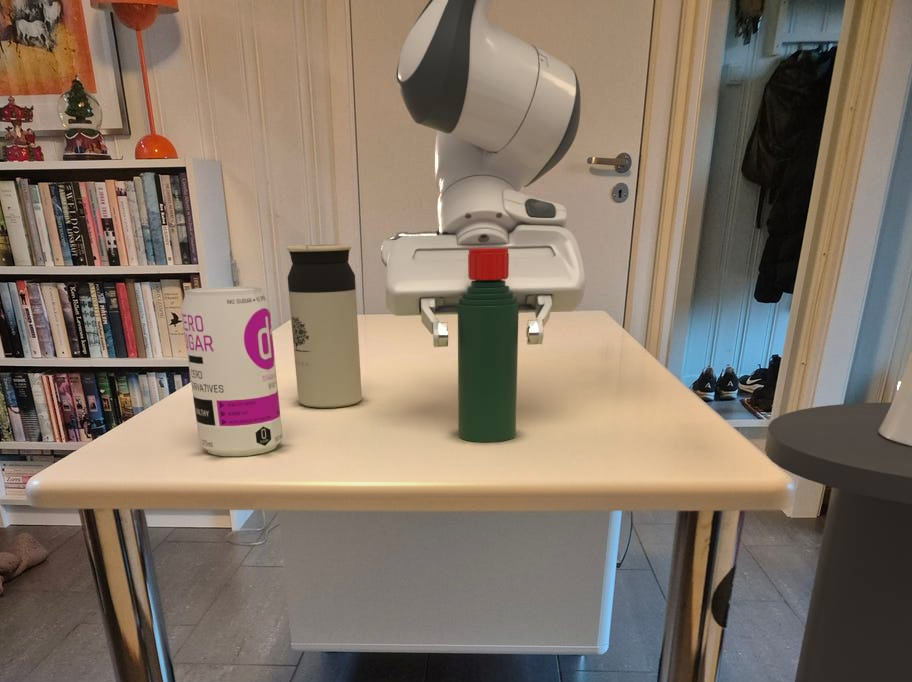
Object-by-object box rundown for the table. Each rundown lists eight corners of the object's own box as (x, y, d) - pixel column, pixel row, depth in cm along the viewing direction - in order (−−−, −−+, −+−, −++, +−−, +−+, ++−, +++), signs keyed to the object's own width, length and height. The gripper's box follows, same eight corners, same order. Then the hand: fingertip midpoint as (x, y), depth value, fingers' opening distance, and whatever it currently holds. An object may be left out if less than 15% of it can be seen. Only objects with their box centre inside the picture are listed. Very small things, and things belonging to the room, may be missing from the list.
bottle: (518, 429, 92) (522, 251, 84) (512, 443, 86) (516, 253, 79) (463, 428, 93) (462, 252, 85) (454, 441, 87) (452, 254, 80)
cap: (510, 277, 84) (510, 247, 83) (505, 279, 81) (506, 248, 80) (471, 277, 85) (471, 247, 84) (465, 280, 81) (465, 249, 80)
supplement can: (296, 440, 89) (282, 285, 82) (258, 460, 82) (239, 292, 75) (227, 436, 91) (208, 286, 85) (185, 455, 84) (160, 292, 78)
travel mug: (353, 394, 112) (344, 243, 104) (369, 405, 105) (360, 245, 97) (293, 399, 110) (279, 245, 102) (305, 411, 103) (291, 247, 95)
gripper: (379, 209, 86) (382, 323, 82) (581, 205, 86) (594, 317, 82) (382, 256, 92) (385, 364, 88) (570, 252, 92) (583, 359, 88)
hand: (488, 342), depth 85 cm, fingers open, 8 cm apart
